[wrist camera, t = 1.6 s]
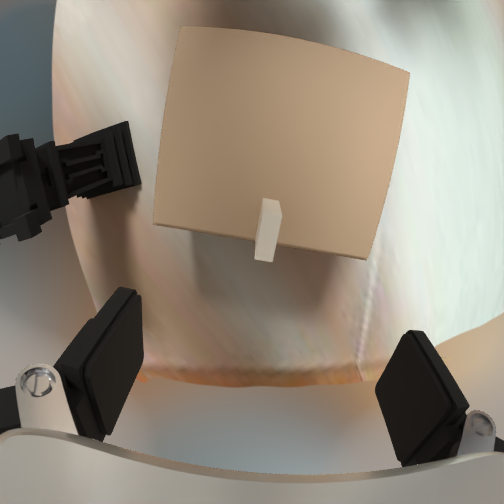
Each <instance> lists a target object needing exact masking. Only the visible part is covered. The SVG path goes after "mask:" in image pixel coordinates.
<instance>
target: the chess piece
mask: <svg viewBox="0 0 504 504" xmlns="http://www.w3.org/2000/svg"><path fill="white" fill-rule="evenodd" d="M139 184H141V179H140V175H139V171H138V166H137V162H136V157H135V153H134V148H133V143H132V138H131V133H130V128H129V123H128V121H124V122H121V123H119V124H116V125H113V126H110V127H107V128H105V129H102V130H99V131H97V132H94V133H91V134H89V135H86V136H84V137H81V138H79V139H76V140H74V142H72V143H70V144H65V145H60V146H55V141H51V142H47V143H45V144H44V145H42V146H39V147H38V148H35V146H34V140H33V138H31V139H25V140H19V134H13V135H7V136H5V137H4V138H2V139H1V140H0V239H3V238H6V237H9V236H12V235H15V234H16V235H17V238H18V241H23V240H26V239H29V238H32V237H34V236H36V235H37V234H39V233H41V232H42V230H41V227H40V225H42V224H44V223H45V222H47V221H49V220H51V219H52V216H51V213H50V211H51V210H55V209H58V208H61V207H64V206H66V205H68V204H69V201H68V199H69V198H71V197H73V196H76V195H77V198H78V197H81V196H82V198H85V197H87V199H89V198H92V197H96V196H99V195H103V194H106V193H110V192H113V191H117V190H121V189H124V188H128V187H132V186H136V185H139Z"/></svg>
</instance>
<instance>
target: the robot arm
mask: <svg viewBox="0 0 504 504" xmlns="http://www.w3.org/2000/svg"><path fill="white" fill-rule="evenodd" d="M143 358H144V350H143V332H142V302H141V296H140V295H137V292H136V290H133V289H129V288H124V287H119V288H118V289H117V290H116V291H115V292H114V294H113V295H112V296H111V297H110V299H109V300H108V301H107V302H106V303H105V305H104V306H103V307H102V308H101V310H100V311H99V312H98V314H97V315H96V316H95V318H92V319H90V320H88V321H87V323H86V324H85V325H84V327H83V328H82V329H81V330H80V332H79V333H78V334H77V335H76V337H75V338H74V339H73V341H72V342H71V343H70V345H69V346H68V347H67V348H66V350H65V351H64V352H63V354H62V355H61V357H60V358H59V359H58V361H57V362H56V363H55V365H54V366H53V367H51V366H49V365H47V364H42V363H41V364H32V365H29V366H27V367H25V368H24V369H22V370H21V371H20V373H19V374H18V376H17V378H16V382H15V386H11V387H6V388H2V389H0V504H504V441H503V440H501V439H500V438H498V437H496V426H495V424H494V421H493V420H492V418H491V417H490V416H489V415H488V414H486V413H484V412H482V411H479V410H474V411H471V412H470V413H468V415H466V413H465V411H466V410H467V409H468V408H469V404H468V402H467V400H466V398H465V397H464V395H463V393H462V391H461V390H460V389H459V387H458V385H457V383H456V381H455V380H454V378H453V376H452V375H451V373H450V372H449V370H448V368H447V367H446V365H445V364H444V362H443V360H442V359H441V357H440V356H439V354H438V353H437V351H436V350H435V348H434V346H433V345H432V343H431V342H430V340H429V339H428V337H427V336H426V334H425V333H424V332H423V331H416V330H409V331H407V332H406V334H404V335H403V336H402V337H401V339H400V341H399V343H398V345H397V347H396V349H395V351H394V353H393V355H392V357H391V359H390V361H389V363H388V364H387V366H386V368H385V370H384V372H383V373H382V375H381V377H380V379H379V381H378V382H377V384H376V387H375V393H376V396H377V399H378V402H379V405H380V408H381V411H382V414H383V416H384V419H385V422H386V426H387V429H388V432H389V435H390V438H391V441H392V444H393V447H394V450H395V454H396V457H397V460H398V461H400V462H401V465H402V467H401V468H395V469H388V470H379V471H371V472H360V473H347V474H326V475H288V474H266V473H253V472H242V471H233V470H225V469H218V468H211V467H205V466H199V465H193V464H188V463H182V462H177V461H173V460H168V459H164V458H159V457H155V456H151V455H147V454H143V453H139V452H135V451H131V450H128V449H124V448H121V447H118V446H114V445H111V444H107V443H103V440H104V437H105V435H111V433H112V431H113V429H114V426H115V424H116V422H117V419H118V417H119V415H120V412H121V410H122V408H123V406H124V403H125V401H126V399H127V396H128V394H129V392H130V390H131V387H132V385H133V383H134V381H135V379H136V376H137V374H138V372H139V370H140V368H141V365H142V363H143ZM92 438H93V439H92ZM94 439H95V440H94ZM97 440H98V441H97ZM100 441H101V442H100ZM417 464H418V465H417Z"/></svg>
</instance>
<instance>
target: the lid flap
mask: <svg viewBox="0 0 504 504" xmlns="http://www.w3.org/2000/svg"><path fill="white" fill-rule="evenodd" d="M409 77H410V72H407V71H405V70H402V69H400V68H397V67H394V66H392V65H389V64H386V63H384V62H381V61H378V60H375V59H372V58H369V57H366V56H363V55H360V54H357V53H353V52H350V51H347V50H343V49H339V48H336V47H332V46H328V45H324V44H320V43H316V42H312V41H307V40H302V39H298V38H293V37H287V36H282V35H276V34H270V33H263V32H256V31H248V30H239V29H229V28H216V27H197V26H181V27H180V31H179V36H178V40H177V45H176V49H175V54H174V59H173V64H172V69H171V75H170V80H169V86H168V92H167V98H166V104H165V111H164V117H163V125H162V132H161V140H160V148H159V157H158V166H157V176H156V188H155V200H154V215H153V222H155V223H162V224H168V225H174V226H181V227H187V228H193V229H199V230H205V231H212V232H218V233H224V234H230V235H236V236H242V237H248V238H254V239H255V255H254V259H255V260H261V261H267V262H273V258H274V253H275V248H276V243H277V242H278V243H283V244H289V245H295V246H301V247H307V248H312V249H318V250H324V251H330V252H335V253H341V254H346V255H352V256H358V257H363V258H368V257H369V254H370V251H371V248H372V245H373V241H374V238H375V235H376V231H377V228H378V224H379V221H380V217H381V214H382V210H383V206H384V203H385V199H386V195H387V191H388V187H389V183H390V179H391V175H392V170H393V166H394V162H395V157H396V152H397V148H398V143H399V138H400V133H401V127H402V122H403V116H404V110H405V104H406V98H407V91H408V84H409Z"/></svg>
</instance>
